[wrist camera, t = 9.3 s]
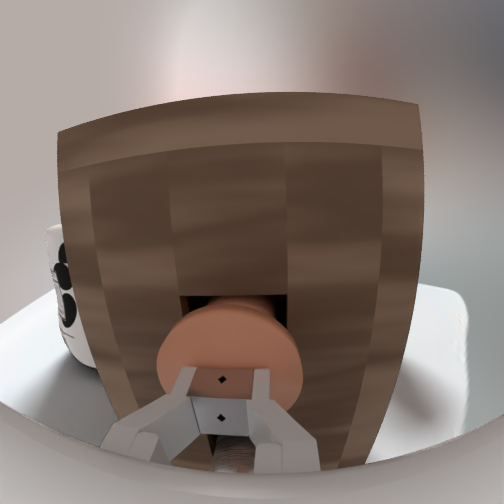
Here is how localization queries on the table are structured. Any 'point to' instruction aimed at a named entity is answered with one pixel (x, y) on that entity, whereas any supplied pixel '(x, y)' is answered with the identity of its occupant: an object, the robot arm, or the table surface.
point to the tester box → (251, 243)
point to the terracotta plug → (234, 344)
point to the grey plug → (234, 454)
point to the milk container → (66, 298)
